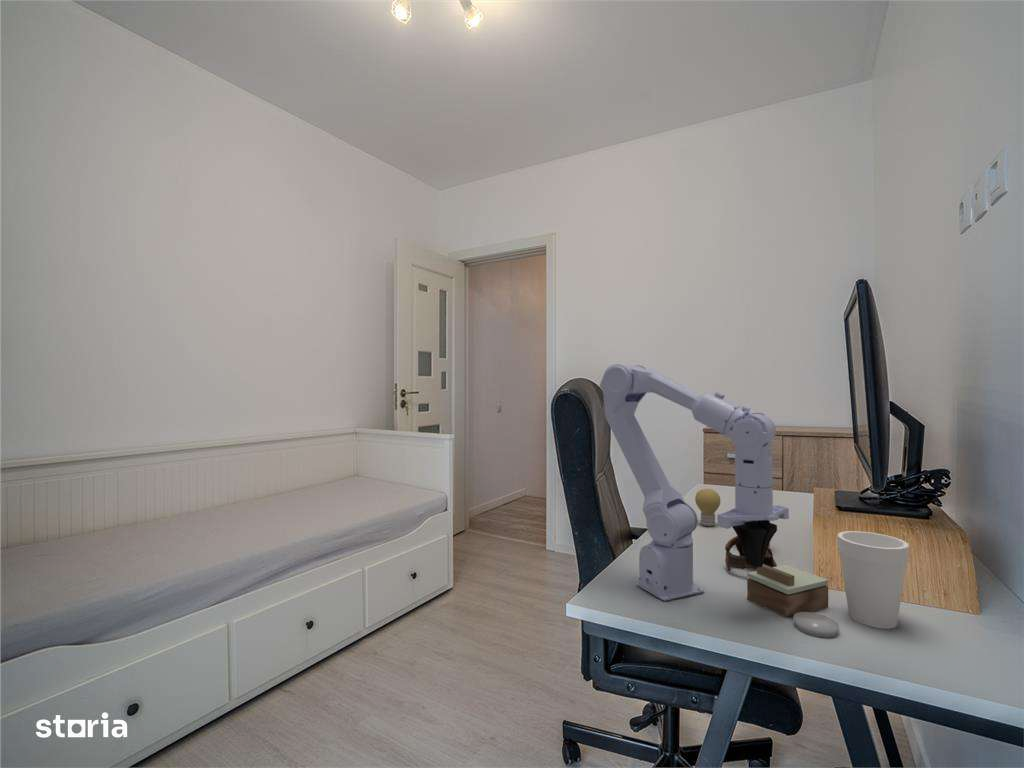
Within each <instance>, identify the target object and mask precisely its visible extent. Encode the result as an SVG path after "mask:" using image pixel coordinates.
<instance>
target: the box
mask: <svg viewBox="0 0 1024 768" xmlns="http://www.w3.org/2000/svg"><path fill="white" fill-rule="evenodd" d="M746 583H747V585H746V586H747V589H746V591H747V598H746V599H747V600H748V601H750V602H752V603H754V604H756V605H759V606H761V607H763V608H765V609H766V610H767V609H768V610H769V611H771V612H774V613H776V614H778V615H780V616H782V617H784V618H786V619H791V618H794V614H796V613H798V612H813V613H814V612H815V611H820V610H823V609H826V608H827V609H828V608H829V586H828V585H825V586H821V587H817V588H813V589H809V590H805V591H801V592H797V593H793V594H789V595H788V594H785V593H783V592H780V591H778V590H776V589H773V588H771V587H769V586H766V585H764V584H762V583H759V582H757V581H755V580H752V579H750V578H747V580H746Z"/></svg>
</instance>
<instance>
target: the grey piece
mask: <svg viewBox="0 0 1024 768" xmlns="http://www.w3.org/2000/svg"><path fill="white" fill-rule="evenodd" d="M793 625H794V627H795V628H796V629H797V630H798V631H800V632H802V633H804V634H806V635H809V636H813V637H817V638H821V639H833V638H836V637H838V636H839V635H840V633H839V632H840V631H839V623H838V622H837V621H836V620H834V619H833V618H832V617H829V616H827V615H824V614H821V613H817V612H814V611H813V612H798V613H796V614H794V617H793Z"/></svg>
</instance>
